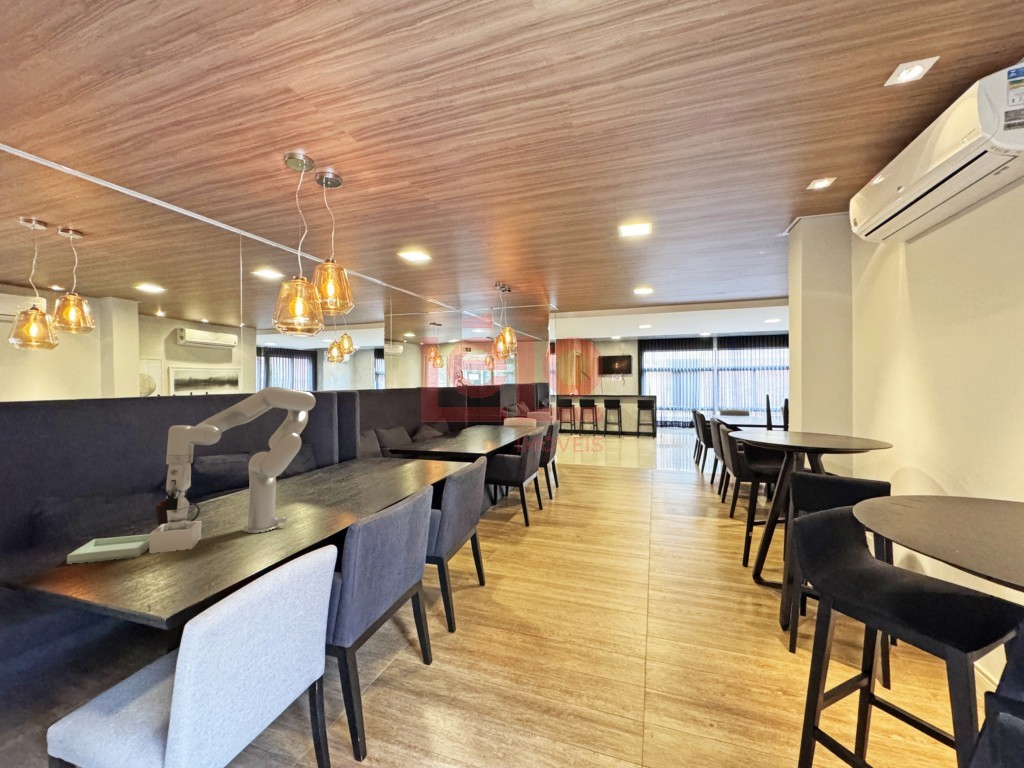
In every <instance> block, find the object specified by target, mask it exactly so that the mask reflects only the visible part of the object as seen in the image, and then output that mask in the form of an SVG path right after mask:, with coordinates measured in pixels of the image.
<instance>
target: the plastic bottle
mask: <svg viewBox="0 0 1024 768" xmlns="http://www.w3.org/2000/svg"><path fill="white" fill-rule="evenodd" d="M174 494H175V493H174ZM184 495H185V491H183V492H181V491H179V492H178V496H177V498H178V506H177V509H176V510H167V516H168V527H167V531H171V530H183V529H187V524H186V522H188V520H187V519H188V512H189V507H190V504H189V503H190V502H189V500H188V499H186V498H185V497H184ZM187 500H188V501H187Z"/></svg>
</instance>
